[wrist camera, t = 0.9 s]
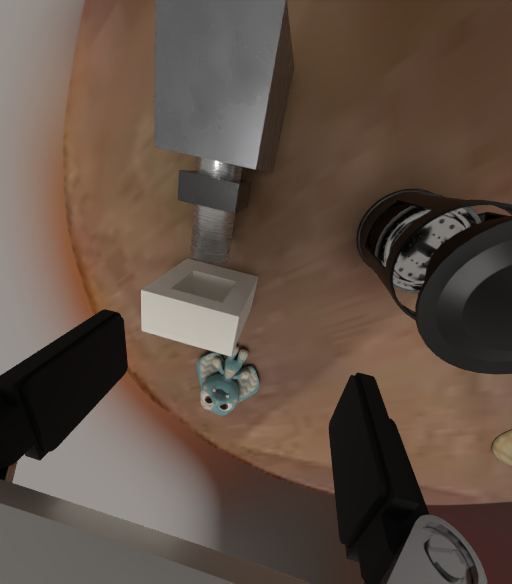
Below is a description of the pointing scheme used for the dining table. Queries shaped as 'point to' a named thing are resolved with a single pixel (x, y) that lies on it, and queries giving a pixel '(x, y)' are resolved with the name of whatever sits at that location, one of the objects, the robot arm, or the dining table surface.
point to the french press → (449, 274)
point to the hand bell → (503, 447)
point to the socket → (199, 305)
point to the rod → (213, 206)
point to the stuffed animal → (225, 381)
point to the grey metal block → (222, 78)
